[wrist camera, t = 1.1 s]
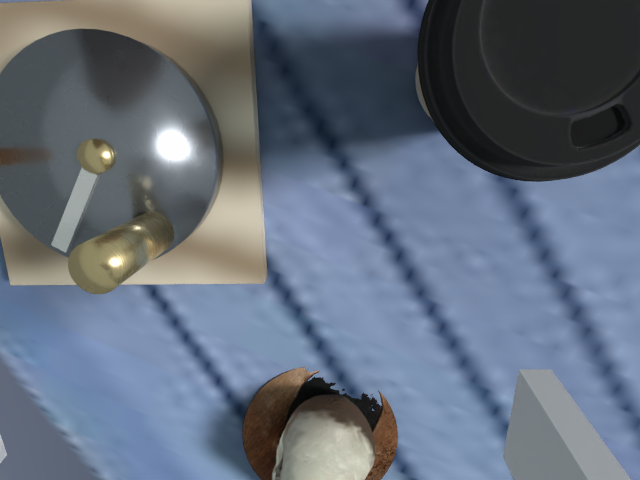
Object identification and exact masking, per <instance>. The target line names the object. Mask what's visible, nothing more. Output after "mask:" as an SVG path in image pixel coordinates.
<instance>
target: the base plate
mask: <svg viewBox="0 0 640 480" xmlns="http://www.w3.org/2000/svg"><path fill="white" fill-rule="evenodd" d="M80 28H81V29H99V30H105V31H110V32H114V33H118V34H121V35H124V36H127V37H130V38H132V39H135V40H138V41H140V42H143V43H145V44H147V45H150V46H152V47H154V48H156V49H158V50H159V51H161V52H163V53H164V54H166V55H167V56H169V57H170V58H172V59H173V60H174V61H175V62H176V63H178V64H179V65H180V66H181V67H182V68H184V69H185V71H186V72H187V73H188V74H189V75H190V76H191V77H192V78H193V79H194V80H195V82H196V83H197V84H198V86H199V87H200V88H201V90H202V91H203V93H204V94H205V96H206V98H207V100H208V102H209V103H210V105H211V107H212V109H213V112H214V114H215V117H216V119H217V122H218V126H219V129H220V133H221V137H222V144H223V158H224V166H223V175H222V181H221V185H220V189H219V193H218V196H217V198H216V201H215V203H214V206H213V207H212V209H211V211H210V213H209V214H208V216H207V218H206V219H205V220H204V221H203V223H202V224H201V225H200V227H199V228H198V229H197V230H196V231H195V232H194V233H193V234H192V235H190V236H189V237H188V238H187V239H186V240H184V241H183V242H182V243H180V244H179V245H178V246H176V247H175V248H174V249H172V250H171V251H169V252H168V253H166V254H164V255H162V256H160V257H159V258H157V259H154V260H152V261H151V262H149V263H148V264H147V265H145V266H144V267H143V268H141V269H140V270H139V271H137V272H136V273H135V274H133V275H132V276H131V277H129V278H128V279H127V280H125V281H124V282H123V283H121V284H255V283H264V282H265V280H266V278H267V262H266V245H265V228H264V211H263V193H262V176H261V159H260V142H259V125H258V107H257V90H256V73H255V56H254V39H253V21H252V4H251V0H65V1H41V2H17V3H0V74H1V72H2V70H3V69H4V68H5V67H6V65H7V64H8V63H9V62H10V61H11V59H12V58H13V57H14V56H16V55H17V54H18V53H19V52H20V51H21V50H22V49H23V48H25V47H27V46H28V45H30V44H31V43H33V42H34V41H36V40H38V39H40V38H43V37H45V36H47V35H49V34H53V33H56V32H60V31H64V30H71V29H80ZM0 238H1V242H2V247H3V252H4V257H5V261H6V266H7V271H8V276H9V280H10V285H77V284H76V283H75V282H74V281H73V279H72V278H71V276H70V273H69V270H68V259H69V258H68V257H66V256H63V255H61V254H59V253H57V252H56V251H54V250H52V249H50V248H49V247H47V246H46V245H44V244H43V243H41V242H40V241H39V240H37V239H36V238H35V237H34V236H33V235H31V234H30V233H29V232H28V231H27V230H26V229H25V228H24V227H23V226H22V225H21V224H20V223H19V221H18V220H17V219H16V218H15V217H14V216H13V214H12V213H11V212H10V210H9V209H8V207H7V206H6V204H5V203H4V201H3V199H2V198H1V196H0Z"/></svg>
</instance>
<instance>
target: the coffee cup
mask: <svg viewBox="0 0 640 480" xmlns="http://www.w3.org/2000/svg"><path fill="white" fill-rule="evenodd" d="M415 85H416V92H417V95H418V99H419V101H420V103H421V105H422V107H423V109H424V111H425V112H426V113H427V115H428V116H429V117H430V118H431V119H432V120H433V122H434V123H435V125H436V127H437V128H438V130H439V131H440V133H441V134H442V136H443V137H444V138H445V139H446V140H447V142H448V143H449V144H450V145H451V146H452V147H453V148H454V149H455V150H456V151H457V152H458V153H459V154H461V155H462V156H463V157H464V158H465V159H467V160H468V161H470V162H471V163H473V164H474V165H476V166H478V167H480V168H482V169H483V170H486V171H488V172H490V173H493V174H495V175H498V176H502V177H505V178H509V179H514V180H521V181H537V182H539V181H552V180H560V179H567V178H572V177H577V176H581V175H584V174H587V173H590V172H593V171H596V170H598V169H601V168H603V167H605V166H607V165H609V164H611V163H613V162H615V161H617V160H619V159H620V158H622V157H623V156H625V155H627V154H628V153H629V152H631V151H632V150H634V149H635V148H636V147H638V146H639V145H640V0H429V1H428V4H427V6H426V9H425V12H424V16H423V19H422V23H421V28H420V33H419V42H418V61H417V69H416V75H415Z"/></svg>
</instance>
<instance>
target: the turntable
mask: <svg viewBox="0 0 640 480" xmlns="http://www.w3.org/2000/svg"><path fill="white" fill-rule="evenodd" d="M223 166H224V158H223V144H222V137H221V133H220V129H219V126H218V122H217V119H216V117H215V114H214V112H213V109H212V107H211V105H210V103H209V102H208V100H207V98H206V96H205V94H204V93H203V91H202V90H201V88H200V87H199V86H198V84H197V83H196V82H195V80H194V79H193V78H192V77H191V76H190V75H189V74H188V73H187V72H186V71H185V69H184V68H182V67H181V66H180V65H179V64H178V63H176V62H175V61H174V60H173V59H172V58H170V57H169V56H167V55H166V54H164V53H163V52H161V51H159V50H158V49H156V48H154V47H152V46H150V45H147V44H145V43H143V42H140V41H138V40H135V39H132V38H130V37H127V36H124V35H121V34H118V33H114V32H110V31H105V30H99V29H81V28H80V29H71V30H64V31H60V32H56V33H53V34H49V35H47V36H45V37H43V38H40V39H38V40H36V41H34V42H33V43H31V44H30V45H28V46H27V47H25V48H23V49H22V50H21V51H20V52H19V53H18V54H17V55H16V56H14V57H13V58H12V59H11V61H10V62H9V63H8V64H7V65H6V67H5V68H4V69H3V70H2V72H1V74H0V196H1V198H2V199H3V201H4V203H5V204H6V206H7V207H8V209H9V210H10V212H11V213H12V214H13V216H14V217H15V218H16V219H17V220H18V221H19V223H20V224H21V225H22V226H23V227H24V228H25V229H26V230H27V231H28V232H29V233H30V234H31V235H33V236H34V237H35V238H36V239H37V240H39V241H40V242H41V243H43V244H44V245H46V246H47V247H49V248H50V249H52V250H54V251H56V252H57V253H59V254H61V255H63V256H66V257H68V258H69V259H68V270H69V273H70V276H71V278H72V279H73V281H74V282H75V283H76V284H77V285H78V286H79V287H80V288H81V289H83V290H85V291H87V292H89V293H93V294H104V293H108V292H110V291H112V290H113V289H115V288H116V287H117V286H119V285H120V284H121V283H123V282H124V281H125V280H127V279H128V278H129V277H131V276H132V275H133V274H135V273H136V272H137V271H139V270H140V269H141V268H143V267H144V266H145V265H147V264H148V263H149V262H151V261H152V260H154V259H157V258H159V257H160V256H162V255H164V254H166V253H168V252H169V251H171V250H172V249H174V248H175V247H176V246H178V245H179V244H180V243H182V242H183V241H184V240H186V239H187V238H188V237H189V236H190V235H192V234H193V233H194V232H195V231H196V230H197V229H198V228H199V227H200V225H201V224H202V223H203V221H204V220H205V219H206V218H207V216H208V214H209V213H210V211H211V209H212V207H213V206H214V203H215V201H216V198H217V196H218V193H219V189H220V185H221V181H222V175H223Z"/></svg>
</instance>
